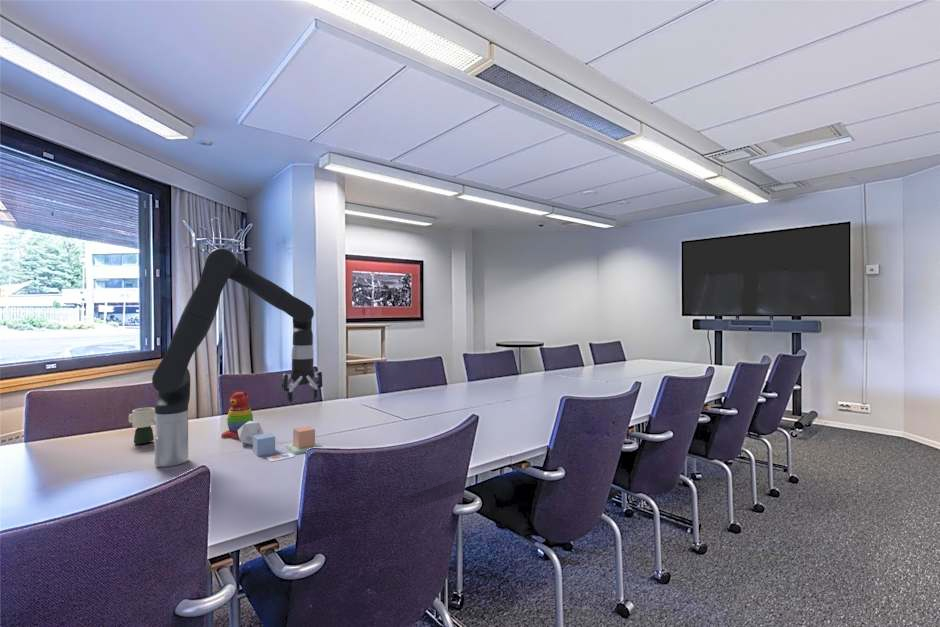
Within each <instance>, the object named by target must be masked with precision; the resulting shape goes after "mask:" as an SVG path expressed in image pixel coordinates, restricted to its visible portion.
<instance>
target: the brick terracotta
mask: <svg viewBox="0 0 940 627" xmlns="http://www.w3.org/2000/svg"><path fill="white" fill-rule="evenodd" d="M292 429H293V430H292V433H293V434H292V442H293V443H292V444H293V445H295V446H296V447H297V448H304V447H309V446H314V445H315V442H316V429H315V428H314V427H312V426H310V425H307V426H306V425H305V426H300V427H295V428H292Z"/></svg>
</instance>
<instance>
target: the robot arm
mask: <svg viewBox="0 0 940 627" xmlns="http://www.w3.org/2000/svg"><path fill="white" fill-rule="evenodd" d="M229 279H230V280H232V281H234V282H236V283H238V284H239V285H241V286H243V287H245V288H246V289H248V290H249V291H250V292H252V293H253V294H255V295H256V296H258V297H259V298H260V299H262V300H263V301H265V302H266V303H268V304H270V305H271V306H273V307H275V308H277V309H278V310H280V311H282V312H284V313H285V314H287V315H289V316H290V317H291V318H292V328H293V330H292V349H291V373H290V374H286V373H282V377H281V390H282V391H284V392H286V401H288V403H293V391H294V389H295V388H297V386H301V385H308V384H309V386H310V387H311V388H312V389H311V399H312V400H316V399H317V398H318V390H319V389H320V388H322V387H323V372H322V371H320V370H319V371H318V370H317V371H314V345H313V344H314V343H313V342H314V334H313V330H312V327H313V326H312V324H313V322H312V321H313V318H314V316H315V311H314V309H313V306H311V305H310V304H308V303H306V301H305V302H304V301H303V300H302V299H299V298H298V297H296V296H293V294H291V293H290V292H289V291H287V290H286V289H284V288H282V287H280V286H279V285H278V284H276V283H275V282H272V281H271V280H269V279H268V278H265V277H264V276H262V275H260V274H258V273H257V272H255V271H254V270H252V269H250V268H249V267H248V266H246V265H245V264H244V263H243V262H242V261H241V260H240V259H239V258H237V256H236V255H235V253H233V252H232V251H231V250H229V249H227V248H221V247H219V248H215V249H213V250H211V251H210V252H209V253H208V255H207V256H206V258H205V262H204V265H203V268H202V272H201V276H200V278H199V281H198V284H197V285H196V287H195V288H194V291H193V292H192V294H191V296H190V297H189V299H188V301H187V303H186V305H185V307H184V309H183V310H182V311H183V312H182V313H181V315H180V318H179V320H178V323H177V325H176V328H175V329H174V332H173V335H172V337H171V340H170V344H169V345H168V348H167V349H166V352H165V354H164V356H163V357H162V359H161V360H160V362H159V364H158V366H157V367H156V368H155V370H154V373H153V374H152V377H151V383H152V386H153V388H154V389H155V390H156V391H157V392H158V397H157V401H156V403H155V407H154V408H155V424H154V427H155V431H154V432H155V433H154V465H155V467H156V468H161V467H164V468H165V467H173V466H178V465H181V464H184V463H187V462H188V461H189V403H190V400H191V399H190V398H191V374H190V371H189V369H188V367H189V364H190V361H191V359H192V358H193V355H194V353H195V352H196V350H197V349H198V348H199V346H200V345H201V344H202V342H203V340H204V339H205V338H206V335H208V332H209V330H210V328H211V326H212V324H213V322H214V319H215V316H216V314H217V312H218V311H217V310H218V307H219V303H220V298H221V294H222V292H223V289H224V287H225V286H226V284H227V282H228V281H229ZM314 377H315V378H316V383H315V381H314V380H313V378H314ZM290 379H292V380H291V382H290V383H289V385H288V381H289V380H290Z"/></svg>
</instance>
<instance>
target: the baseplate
mask: <svg viewBox="0 0 940 627" xmlns="http://www.w3.org/2000/svg"><path fill="white" fill-rule="evenodd" d="M313 447H322V448H323V445H321V444H320V443H318V442H317V441H315V445H314V446H309V447H304V448H297V447H296V446H295V445H293V443H289V444H285V448H286V449H288V450H289V451H290V453H293V455H298V454H302V453H307V452H306V451H307V449H309V448H313Z"/></svg>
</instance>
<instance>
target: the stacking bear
mask: <svg viewBox="0 0 940 627" xmlns="http://www.w3.org/2000/svg"><path fill="white" fill-rule="evenodd" d="M249 398H250V397H249V394H248V392H246V391H234V392H232V395H231V396H230V398H229V404H230V408H229V410H228V413H227V418H226V421H227V422H226V424H227V427H228V430H226V431H224V432H222V433H221V438H223V439H227V438H228V439H234V440H240V439H239V435H238V431H237V430H238V429H240V428H241V427H242V426H243V425H244V424H245V423H247V422H248V421H253V422H254V415H253V411H252V409H251V407H250V405H248V403H249Z"/></svg>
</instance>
